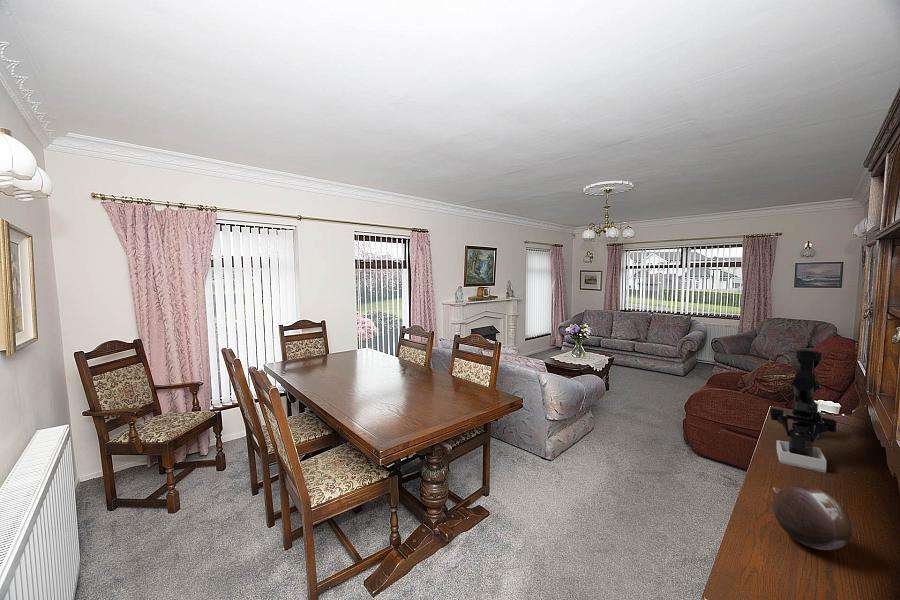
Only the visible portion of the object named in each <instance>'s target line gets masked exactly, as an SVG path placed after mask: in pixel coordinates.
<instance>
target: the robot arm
mask: <svg viewBox="0 0 900 600" xmlns="http://www.w3.org/2000/svg"><path fill="white" fill-rule="evenodd" d="M795 353H796V355H795V359H796V360H797V362H798V364H799V367H800V368H799V371H798V372H796V373H795V375H794V377H793V378H792V380H791V383H790V384H791V387H792V388H793V393H794V397H793V403H792V404H793V405H792V407H791V413H792V414H790V413H787V412H784V409H780V408H775V407H772V408H770V410H769V414H770V419H771V420H772V421H777V422H778V423H779V424H781V425H782V426H783V428H784V430H785V431H784V432H785V435H786V437H787V438H789V431H790V429H789V422H788V420H791V421H792V422H798V423H804V424H807V425H809V429H810V431H809V432H810V433H811V434H812V435H813V443H815V442H816V440H817V439H818V438H819V436H821V435H822V434H823V433H828V432H829V433H830V432H831V433H837V420H836V419H835V418H829V417H824V416H822V415H821V414H820V412H818V410H819V409H818V408H819V407H818V406H819V403H816V402H814V401H815V396H814V393H816V391H819V390H821V389H820V388H821V384H820V383H819V381H818V380H817V376H816V375H815V372H816V370H817V369H818V368H819V367H820V364H821V362H823V353H822V352H819V350H809V349H800V350H796V351H795Z"/></svg>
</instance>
